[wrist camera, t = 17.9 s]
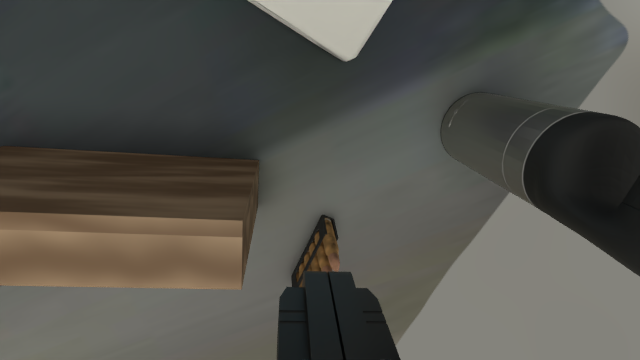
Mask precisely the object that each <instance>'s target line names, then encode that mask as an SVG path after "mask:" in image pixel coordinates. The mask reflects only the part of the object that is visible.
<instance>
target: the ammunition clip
mask: <svg viewBox="0 0 640 360" xmlns="http://www.w3.org/2000/svg"><path fill="white" fill-rule="evenodd" d="M337 240H338V235H337V230H336V226H335V222H334V219H332V218H330V217H327V216H325V215H322V216H321V218H320V220H319V222H318V224H317V226H316V228H315V230H314V232H313V234H312V236H311V238H310V240H309V242H308V244H307V246H306V248H305V250H304V252H303V254H302V256H301V258H300V260H299V262H298V264H297V266H296V268H295V270H294V272H293V274H292V287H302V281H303V272H304V271H326V272H328V271H332V269H333V270H334V271H335V272H338V270H339V265H340V262H339V255H338V250H339V249H338V245H337Z"/></svg>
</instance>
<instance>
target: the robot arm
mask: <svg viewBox="0 0 640 360" xmlns="http://www.w3.org/2000/svg"><path fill="white" fill-rule="evenodd" d="M441 139H442V143H443V146H444V148H445V150H446V151H447V152H448V153H449V155H450V156H452V157H453V158H455V159H456V160H458V161H460V162H461V163H463V164H465V165H466V166H468V167H469V168H471V169H473V170H474V171H476V172H478V173H479V174H481V175H483V176H484V177H486V178H488V179H489V180H491V181H493V182H494V183H496V184H498V185H499V186H501V187H503V188H504V189H506V190H508V191H509V192H511V193H513V194H514V195H516V196H518V197H520V198H521V199H523V200H525V201H526V202H528V203H530V204H531V205H533V206H535V207H536V208H538V209H540V210H541V211H543V212H545V213H546V214H548V215H550V216H551V217H552V218H554V219H556V220H557V221H559V222H560V223H562V224H563V225H565V226H567V227H568V228H570V229H571V230H573V231H575V232H576V233H578V234H579V235H581V236H582V237H584V238H585V239H587V240H588V241H590V242H591V243H593V244H594V245H596V246H597V247H599V248H600V249H601V250H603V251H604V252H606V253H607V254H609V255H610V256H611V257H613V258H614V259H615V260H617V261H618V262H620V263H621V264H623V265H624V266H625V267H627V268H628V269H630V270H631V271H633V272H634V273H636V274H637V275H639V276H640V128H639V127H638V126H637V125H635V124H634V123H632V122H630V121H629V120H627V119H624V118H621V117H618V116H614V115H609V114H603V113H597V112H592V111H586V110H580V109H575V108H568V107H563V106H557V105H551V104H546V103H540V102H534V101H529V100H523V99H517V98H512V97H506V96H501V95H495V94H489V93H473V94H469V95H467V96H464V97H462V98H461V99H459V100H458V101H457V102H455V103H454V104H453V105H452V106H451V108H450V109H449V110H448V112H447V113H446V115H445V117H444V120H443V122H442V127H441ZM277 360H400V358H399V355H398V352H397V349H396V347H395V344H394V341H393V339H392V336H391V333H390V331H389V328H388V325H387V324H386V320H385V317H384V315H383V314H382V309H381V307H380V304H379V301H378V299H377V298H376V297H375V296H374V295H373V294H372V293H371V292H370V291H369V290H368V289H367V288H356V287H355V284H354V280H353V277H352V274H351V272H332V271H328V272H326V271H304V272H303V281H302V287H287V288H286V289H285V290H284V292H283V293H282V295H281V296H280V301H279V319H278V337H277Z"/></svg>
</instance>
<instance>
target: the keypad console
mask: <svg viewBox="0 0 640 360" xmlns="http://www.w3.org/2000/svg"><path fill="white" fill-rule="evenodd" d="M258 179H259V160H246V159H228V158H210V157H192V156H174V155H156V154H138V153H121V152H103V151H85V150H67V149H49V148H31V147H13V146H1V147H0V285H10V286H69V287H128V288H187V289H242V284H243V279H244V274H245V269H246V264H247V259H248V254H249V249H250V244H251V238H252V233H253V228H254V223H255V218H256V213H257V208H258Z"/></svg>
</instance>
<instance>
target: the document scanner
mask: <svg viewBox="0 0 640 360" xmlns="http://www.w3.org/2000/svg"><path fill="white" fill-rule="evenodd" d="M247 1H249V2H251V3H252V4H254V5H255V6H257V7H258V8H260V9H261V10H263V11H264V12H266V13H268V14H269V15H271V16H272V17H274V18H275V19H277V20H278V21H280V22H281V23H283V24H285V25H286V26H288V27H289V28H291V29H292V30H294V31H295V32H297V33H298V34H300V35H302V36H303V37H305V38H306V39H308V40H309V41H311V42H313V43H314V44H316V45H317V46H319V47H321V48H322V49H324V50H325V51H327V52H329V53H330V54H332V55H333V56H335V57H337V58H338V59H340V60H342V61H349V60H351V59H353V58H356V57H357V55H358V54H359V52H360V50H361V49H362V47H363V46H364V44H365V43H366V41H367V39H368V38H369V36H370V35H371V33H372V32H373V30H374V29H375V27H376V25H377V24H378V22H379V21H380V19H381V18H382V16H383V14H384V13H385V11H386V10H387V8H388V7H389V5H390V4H391V2H392V0H247Z"/></svg>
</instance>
